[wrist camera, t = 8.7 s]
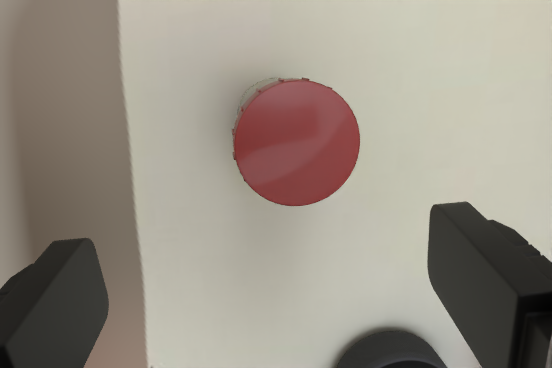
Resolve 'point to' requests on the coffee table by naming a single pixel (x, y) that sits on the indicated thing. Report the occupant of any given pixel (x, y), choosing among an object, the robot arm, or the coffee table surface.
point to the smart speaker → (391, 352)
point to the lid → (295, 141)
